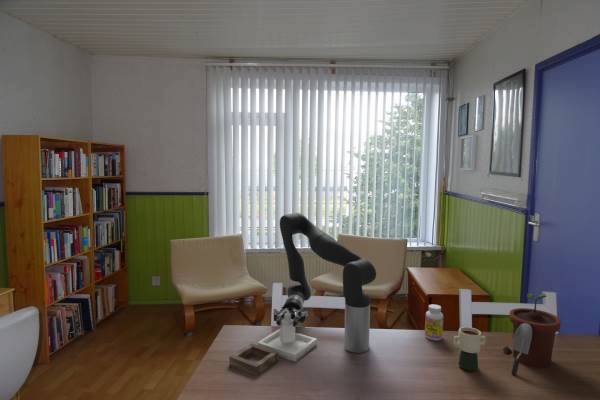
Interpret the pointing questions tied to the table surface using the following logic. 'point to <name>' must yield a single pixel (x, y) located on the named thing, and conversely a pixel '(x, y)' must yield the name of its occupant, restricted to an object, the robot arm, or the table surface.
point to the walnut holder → (249, 366)
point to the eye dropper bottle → (287, 329)
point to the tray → (289, 345)
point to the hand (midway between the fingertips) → (286, 323)
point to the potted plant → (532, 336)
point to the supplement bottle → (434, 323)
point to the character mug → (469, 347)
